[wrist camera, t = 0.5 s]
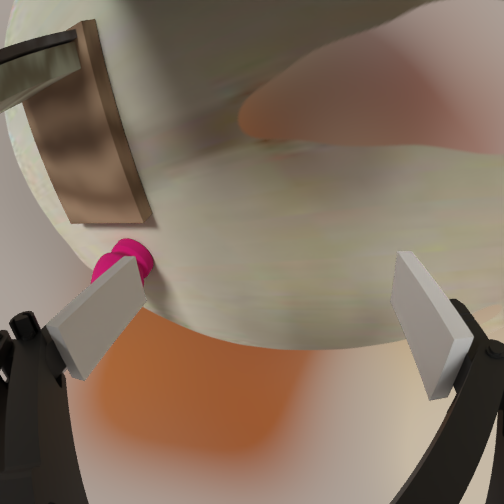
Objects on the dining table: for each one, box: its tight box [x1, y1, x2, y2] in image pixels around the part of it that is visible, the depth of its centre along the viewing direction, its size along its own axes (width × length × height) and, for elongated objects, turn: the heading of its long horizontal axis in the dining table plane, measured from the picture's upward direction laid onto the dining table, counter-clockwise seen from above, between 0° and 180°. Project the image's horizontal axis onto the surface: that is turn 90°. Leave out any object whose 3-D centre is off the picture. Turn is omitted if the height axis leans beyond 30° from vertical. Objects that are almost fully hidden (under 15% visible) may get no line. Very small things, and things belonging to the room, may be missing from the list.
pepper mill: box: [63, 239, 153, 373], centre depth 33 cm, size 7×7×20 cm
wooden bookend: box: [0, 19, 152, 224], centre depth 24 cm, size 24×14×14 cm, turn 8°
